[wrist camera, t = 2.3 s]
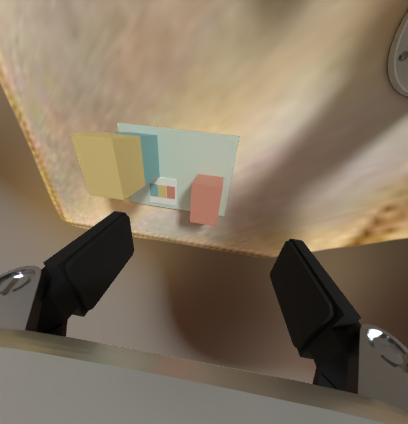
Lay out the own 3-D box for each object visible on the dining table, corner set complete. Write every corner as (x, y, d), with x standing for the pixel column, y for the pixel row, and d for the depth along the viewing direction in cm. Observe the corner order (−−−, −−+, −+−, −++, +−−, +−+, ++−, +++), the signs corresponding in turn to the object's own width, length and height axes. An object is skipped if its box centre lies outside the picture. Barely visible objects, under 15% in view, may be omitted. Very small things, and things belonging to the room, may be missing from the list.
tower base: (131, 132, 27) (70, 133, 17) (157, 135, 26) (111, 138, 16) (136, 172, 31) (89, 194, 20) (159, 176, 30) (123, 200, 20)
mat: (118, 122, 27) (116, 122, 26) (239, 136, 25) (239, 136, 25) (131, 201, 35) (130, 202, 34) (224, 215, 33) (224, 216, 33)
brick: (198, 173, 29) (191, 183, 24) (223, 177, 28) (222, 187, 23) (195, 207, 33) (189, 222, 27) (218, 210, 32) (216, 226, 27)
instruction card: (148, 175, 31) (147, 175, 30) (176, 179, 30) (175, 179, 30) (150, 201, 34) (150, 201, 33) (176, 205, 33) (175, 205, 33)
